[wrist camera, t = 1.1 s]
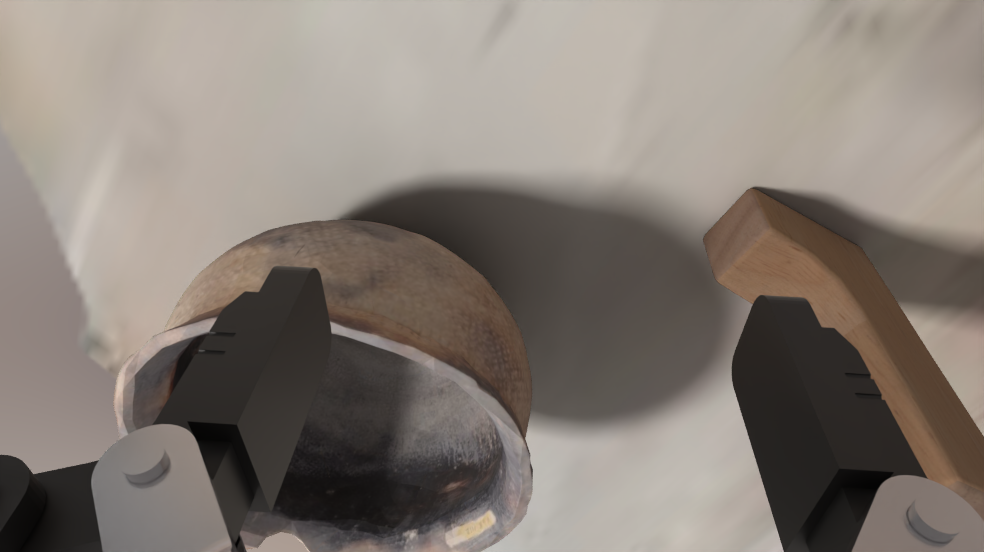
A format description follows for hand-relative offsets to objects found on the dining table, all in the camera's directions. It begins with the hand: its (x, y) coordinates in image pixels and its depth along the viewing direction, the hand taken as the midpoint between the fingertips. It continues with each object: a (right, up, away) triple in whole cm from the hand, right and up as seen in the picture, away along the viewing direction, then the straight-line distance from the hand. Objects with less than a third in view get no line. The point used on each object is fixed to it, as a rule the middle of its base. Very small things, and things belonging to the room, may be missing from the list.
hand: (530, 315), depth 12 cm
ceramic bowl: (-8, 0, +32) cm, 33 cm away
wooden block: (+17, +3, +27) cm, 32 cm away
